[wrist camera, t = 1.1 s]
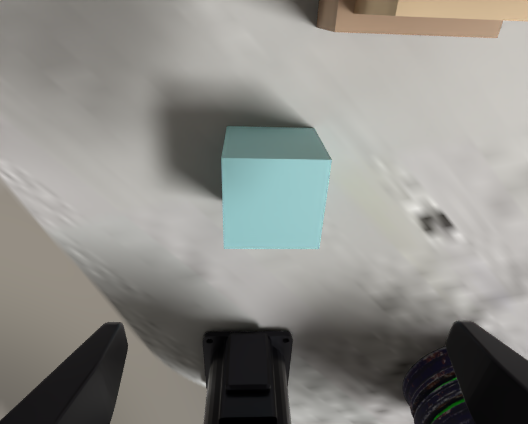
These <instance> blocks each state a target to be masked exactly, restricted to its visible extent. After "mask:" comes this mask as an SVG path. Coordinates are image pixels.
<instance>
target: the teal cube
mask: <svg viewBox="0 0 528 424" xmlns="http://www.w3.org/2000/svg"><path fill="white" fill-rule="evenodd" d="M331 162H332V159H331V157H330V156H329V154H328V152H327V150H326V149H325V147H324V145H323V143H322V141H321V140H320V138H319V136H318V134H317V132H316V131H315V129H314V128H290V127H246V126H227V129H226V134H225V140H224V145H223V151H222V157H221V166H222V200H223V235H224V249H319V247H320V240H321V233H322V226H323V219H324V212H325V205H326V198H327V191H328V184H329V177H330V169H331Z"/></svg>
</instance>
